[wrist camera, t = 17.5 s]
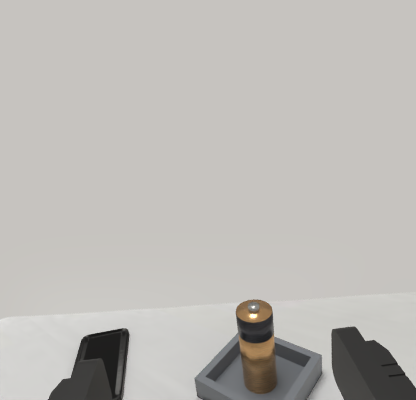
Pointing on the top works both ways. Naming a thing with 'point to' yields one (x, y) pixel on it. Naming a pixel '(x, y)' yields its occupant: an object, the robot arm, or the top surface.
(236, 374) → the tray
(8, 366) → the top surface
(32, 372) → the top surface
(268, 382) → the battery cell
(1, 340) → the top surface
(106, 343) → the phone
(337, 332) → the robot arm
